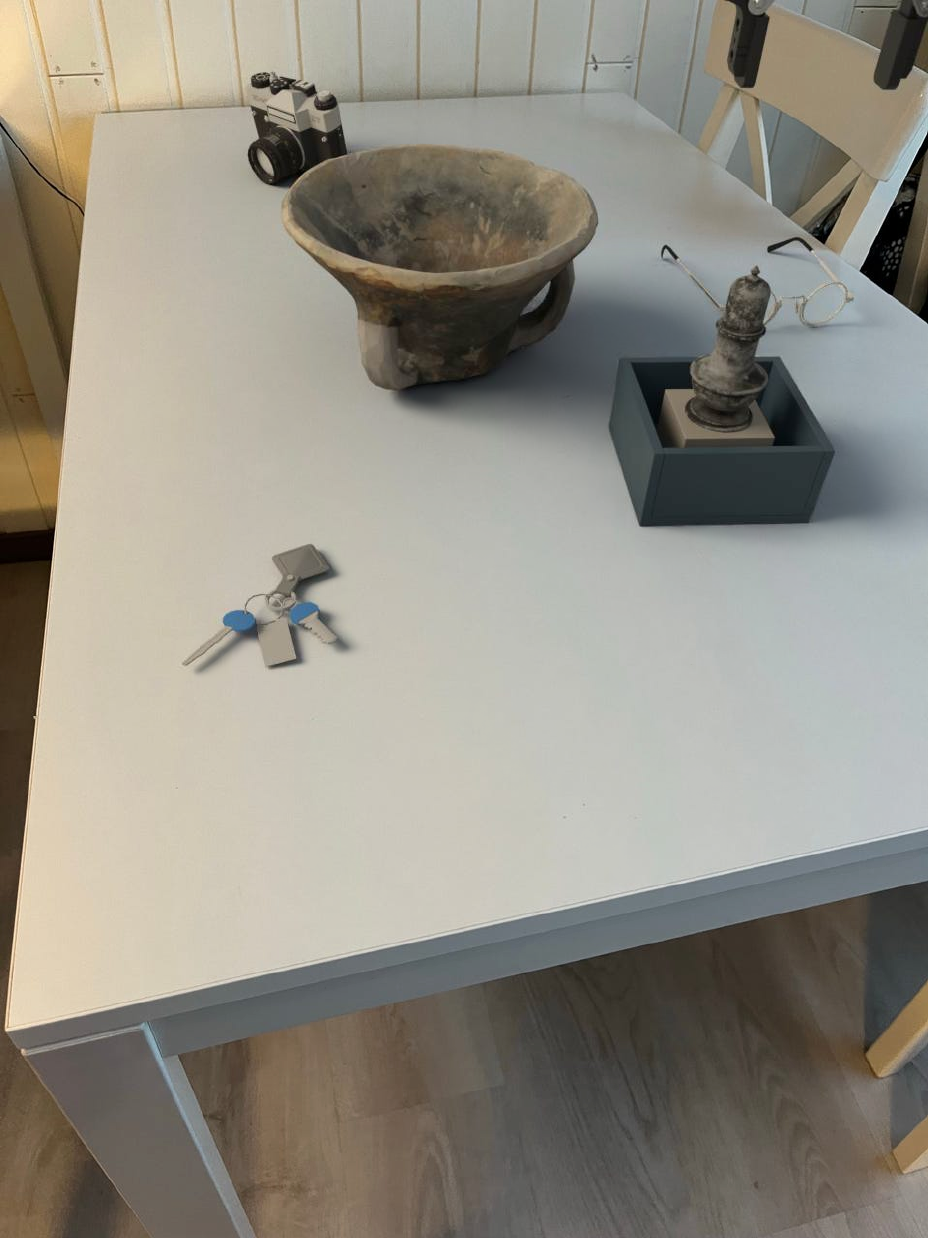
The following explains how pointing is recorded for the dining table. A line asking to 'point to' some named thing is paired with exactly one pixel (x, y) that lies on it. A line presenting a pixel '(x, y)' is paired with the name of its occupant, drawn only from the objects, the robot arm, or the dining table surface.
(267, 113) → the camera
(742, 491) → the crate
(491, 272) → the bowl
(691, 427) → the block
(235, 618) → the key chain
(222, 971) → the dining table surface
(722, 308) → the eyeglasses
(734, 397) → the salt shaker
